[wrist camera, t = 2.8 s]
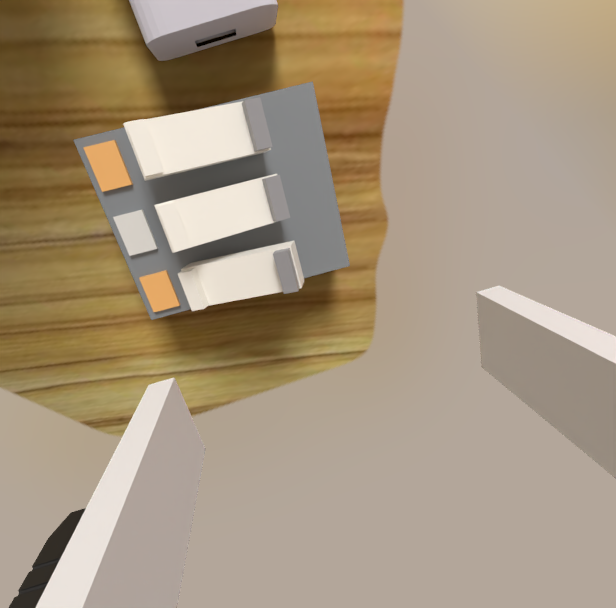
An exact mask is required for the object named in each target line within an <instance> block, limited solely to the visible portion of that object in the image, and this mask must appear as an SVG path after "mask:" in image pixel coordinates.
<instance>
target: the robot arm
mask: <svg viewBox="0 0 616 608" xmlns="http://www.w3.org/2000/svg"><path fill="white" fill-rule="evenodd" d="M476 296H477V309H478V324H479V336H480V351H481V364H482V368H483V369H484V370H486V371H487V372H488V373H489V374H490V375H492V376H493V377H494V378H495V379H496V380H498V381H499V382H500V383H501V384H502V385H504V386H505V387H506V388H507V389H508V390H510V391H511V392H512V393H513V394H515V395H516V396H517V397H518V398H519V399H521V400H522V401H523V402H524V403H525V404H527V405H528V406H529V407H530V408H532V409H533V410H534V411H535V412H536V413H537V414H539V415H540V416H541V417H542V418H543V419H545V420H546V421H547V422H548V423H550V424H551V425H552V426H553V427H554V428H555V429H557V430H558V431H559V432H560V433H562V434H563V435H564V436H565V437H566V438H568V439H569V440H570V441H571V442H572V443H574V444H575V445H576V446H577V447H578V448H580V449H581V450H582V451H583V452H584V453H586V454H587V455H588V456H589V457H591V458H592V459H593V460H594V461H595V462H596V463H598V464H599V465H600V466H601V467H603V468H604V469H605V470H606V471H607V472H608V473H610V474H611V475H612V476H613V477H614V478H616V336H613V335H611V334H609V333H606V332H604V331H602V330H600V329H597V328H595V327H593V326H590V325H588V324H586V323H583V322H581V321H579V320H577V319H574V318H572V317H570V316H567V315H565V314H563V313H561V312H558V311H556V310H554V309H551V308H549V307H547V306H545V305H542V304H540V303H538V302H536V301H533V300H531V299H529V298H527V297H524V296H522V295H520V294H517V293H515V292H513V291H510V290H508V289H506V288H503V287H501V286H497V287H493V288H489V289H486V290H482V291H479V292H476ZM204 454H205V446H204V444H203V442H202V440H201V437H200V435H199V433H198V430H197V428H196V426H195V424H194V422H193V419H192V417H191V414H190V412H189V410H188V408H187V405H186V403H185V401H184V398H183V396H182V394H181V392H180V389H179V387H178V385H177V382H176V380H175V378H171V379H167V380H164V381H160V382H157V383H153V384H150V385H148V387H147V389H146V391H145V393H144V395H143V397H142V399H141V401H140V403H139V405H138V407H137V409H136V411H135V413H134V415H133V417H132V419H131V421H130V423H129V425H128V427H127V429H126V431H125V433H124V435H123V437H122V439H121V441H120V443H119V444H118V447H117V448H116V450H115V452H114V455H113V456H112V459H111V460H110V462H109V464H108V466H107V468H106V470H105V472H104V474H103V476H102V478H101V480H100V482H99V484H98V486H97V488H96V490H95V492H94V494H93V496H92V498H91V500H90V502H89V504H88V505H87V508H85V509H82V510H78V511H75V512H72V513H70V514H69V516H68V517H67V518H66V519H65V520H64V521H63V522H62V523H61V525H60V526H59V527H58V528H57V529H56V530H55V531H54V532H53V534H52V535H51V536H50V537H49V538H48V540H47V542H46V543H45V545H44V547H43V549H42V550H41V552H40V554H39V556H38V557H37V559H36V561H35V563H34V564H33V566H32V567H33V570H32V571H31V572H29V573H28V575H27V577H26V578H25V580H24V582H23V584H22V585H21V587H20V589H19V595H18V596H17V597H15V598H14V600H13V601H12V603H11V605H10V606H9V608H177V604H178V599H179V593H180V588H181V582H182V577H183V571H184V565H185V560H186V554H187V549H188V543H189V538H190V532H191V526H192V521H193V515H194V510H195V504H196V498H197V493H198V487H199V482H200V476H201V470H202V465H203V460H204Z"/></svg>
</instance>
